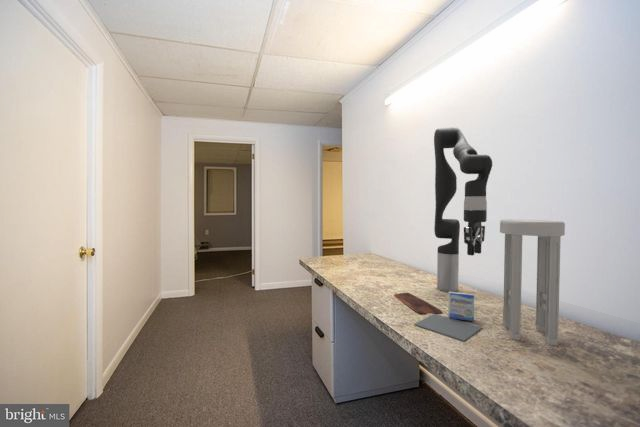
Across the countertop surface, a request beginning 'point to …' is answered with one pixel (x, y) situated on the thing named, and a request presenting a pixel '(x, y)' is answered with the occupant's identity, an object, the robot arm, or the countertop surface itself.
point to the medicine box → (461, 306)
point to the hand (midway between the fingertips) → (474, 254)
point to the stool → (546, 275)
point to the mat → (449, 327)
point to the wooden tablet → (417, 304)
